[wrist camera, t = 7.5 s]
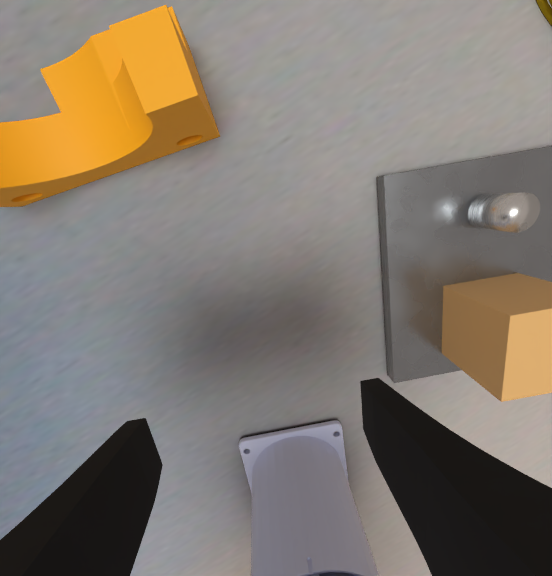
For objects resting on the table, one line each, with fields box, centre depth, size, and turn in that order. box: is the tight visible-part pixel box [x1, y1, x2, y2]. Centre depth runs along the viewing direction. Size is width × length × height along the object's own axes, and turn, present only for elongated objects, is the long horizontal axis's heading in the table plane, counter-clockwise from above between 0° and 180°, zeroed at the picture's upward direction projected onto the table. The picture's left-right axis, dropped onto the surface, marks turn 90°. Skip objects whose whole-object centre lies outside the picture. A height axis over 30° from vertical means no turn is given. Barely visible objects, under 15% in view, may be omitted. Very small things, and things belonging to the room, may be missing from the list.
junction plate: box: [377, 146, 552, 383], centre depth 17 cm, size 14×12×4 cm
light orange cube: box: [442, 273, 552, 402], centre depth 17 cm, size 5×5×5 cm
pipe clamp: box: [0, 5, 220, 207], centre depth 12 cm, size 12×4×6 cm, turn 108°
